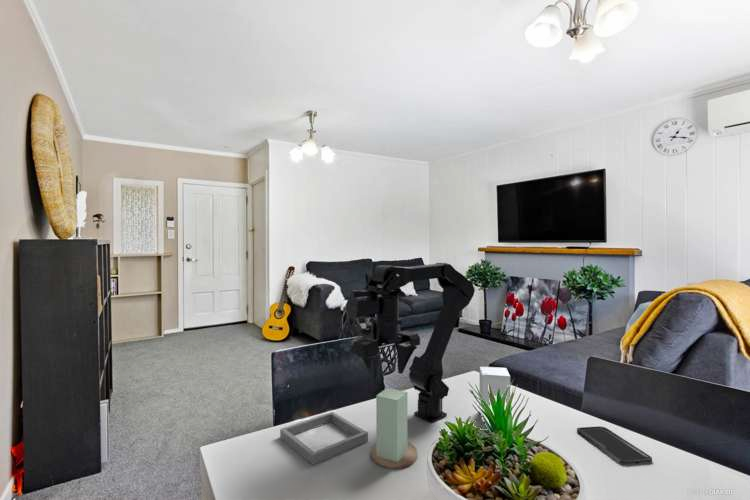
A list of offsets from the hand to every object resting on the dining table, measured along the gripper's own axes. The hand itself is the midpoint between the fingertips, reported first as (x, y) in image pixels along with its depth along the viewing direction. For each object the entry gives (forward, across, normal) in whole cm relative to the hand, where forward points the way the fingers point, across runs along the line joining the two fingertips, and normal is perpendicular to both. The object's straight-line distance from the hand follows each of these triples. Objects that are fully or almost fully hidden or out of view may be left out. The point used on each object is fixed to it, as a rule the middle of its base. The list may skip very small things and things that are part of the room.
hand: (387, 377), depth 95 cm
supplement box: (+13, -26, +14) cm, 32 cm away
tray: (+13, +15, -6) cm, 21 cm away
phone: (+14, -34, +40) cm, 54 cm away
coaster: (+13, +7, +10) cm, 18 cm away
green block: (+12, +8, +10) cm, 18 cm away
